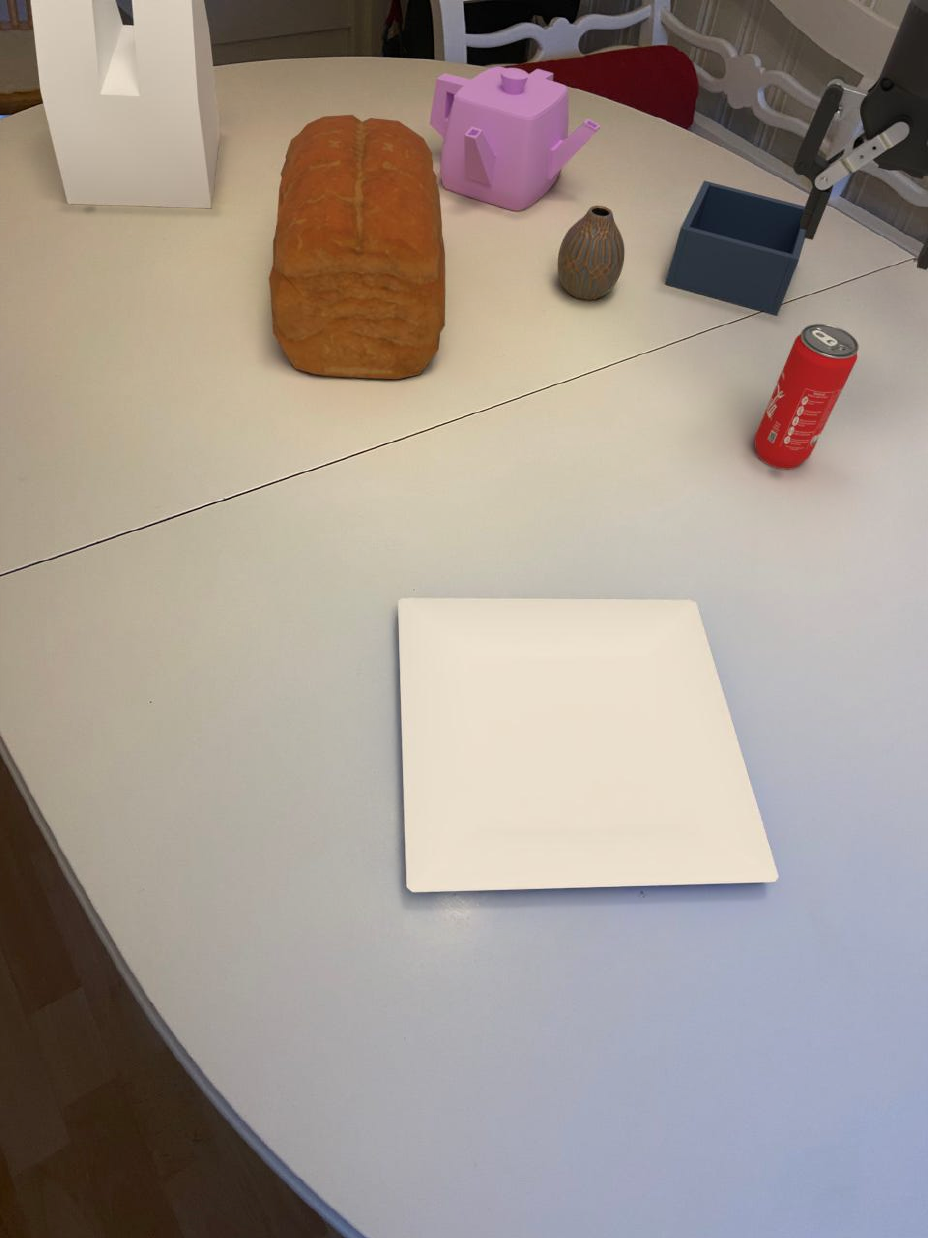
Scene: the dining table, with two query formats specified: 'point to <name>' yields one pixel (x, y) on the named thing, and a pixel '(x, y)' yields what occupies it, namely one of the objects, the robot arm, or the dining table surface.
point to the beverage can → (805, 395)
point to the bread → (358, 251)
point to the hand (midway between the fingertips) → (864, 249)
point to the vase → (591, 255)
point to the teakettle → (504, 134)
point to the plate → (569, 748)
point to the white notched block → (129, 100)
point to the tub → (738, 247)
